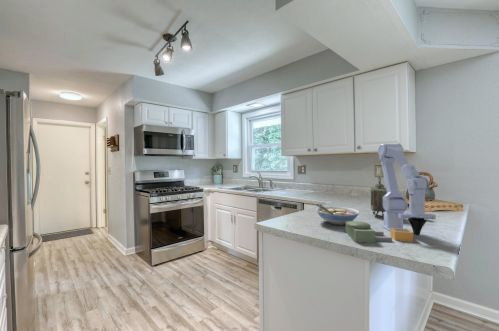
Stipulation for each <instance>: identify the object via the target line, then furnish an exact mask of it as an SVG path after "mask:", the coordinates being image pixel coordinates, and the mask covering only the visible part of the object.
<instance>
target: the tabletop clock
mask: <svg viewBox="0 0 499 331" xmlns="http://www.w3.org/2000/svg"><path fill="white" fill-rule="evenodd" d="M378 179H379V180H378V183H376V184H375V185H374V187H371V188H370V209H371V211H372V214H373V215H374V218H378V215H379V213H380V212H381V216H382V217H383V218H384V213H385V212H386V211H385V210H384V208H383V196H384V195H386V194H387V190H386V187H385V186H384V185H385V184H383V183H382V182H381V181H382V178H381V176H378Z"/></svg>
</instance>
